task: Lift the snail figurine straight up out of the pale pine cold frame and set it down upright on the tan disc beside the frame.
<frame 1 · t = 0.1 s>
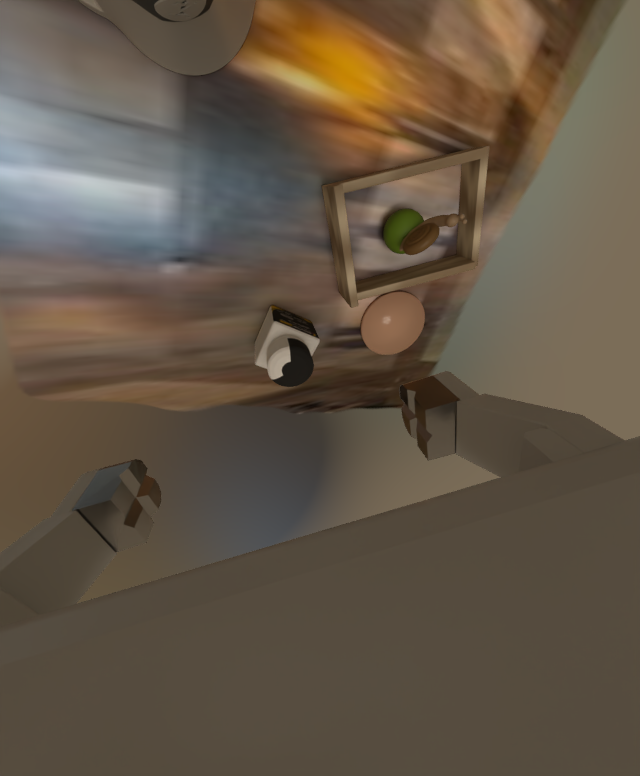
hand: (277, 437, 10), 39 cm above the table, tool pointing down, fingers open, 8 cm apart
medicine bottle: (283, 332, 49), on the table
cold frame: (399, 226, 43), on the table
tan disc: (391, 323, 52), on the table
snail figurine: (398, 226, 44), resting in cold frame
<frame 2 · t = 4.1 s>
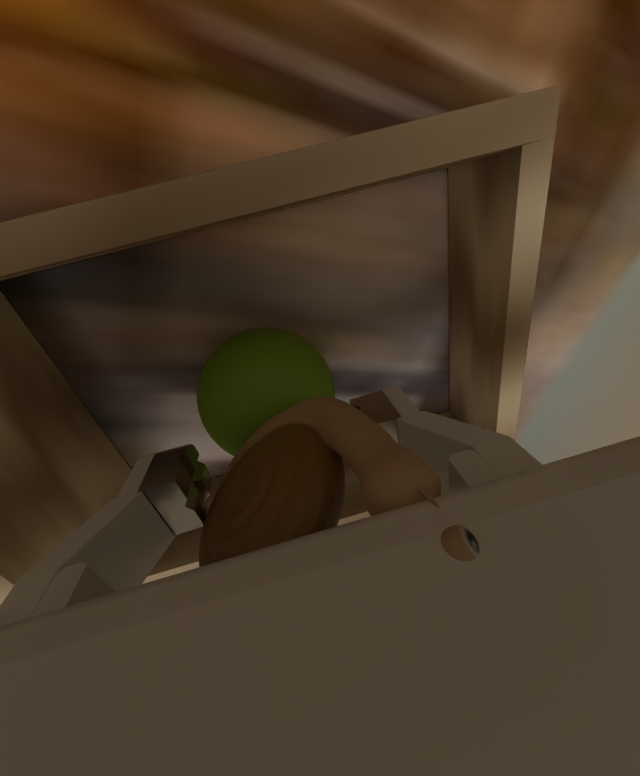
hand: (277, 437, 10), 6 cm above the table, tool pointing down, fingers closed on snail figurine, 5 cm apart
cold frame: (272, 360, 15), on the table
snail figurine: (272, 359, 15), resting in cold frame, touching gripper
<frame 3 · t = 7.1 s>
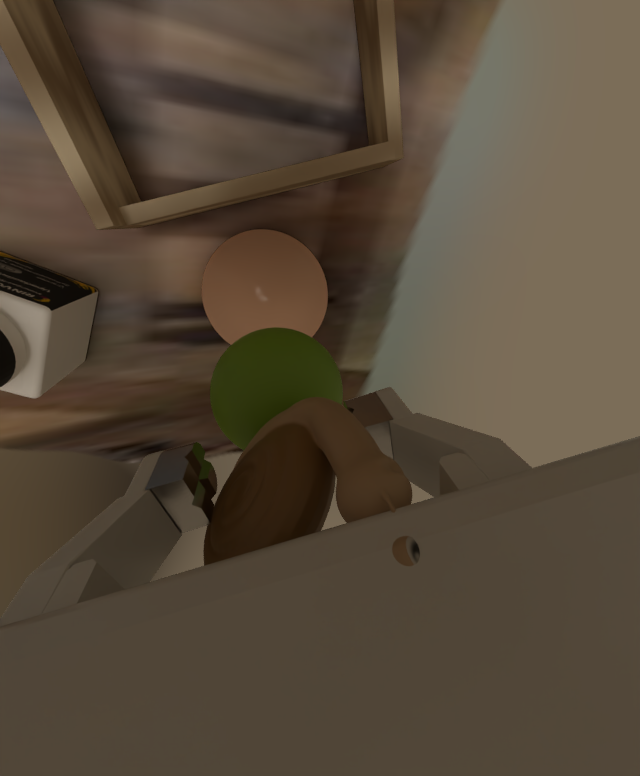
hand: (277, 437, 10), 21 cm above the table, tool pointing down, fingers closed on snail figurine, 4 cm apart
medicine bottle: (46, 309, 26), on the table
cold frame: (231, 78, 21), on the table
tan disc: (266, 296, 28), on the table
snail figurine: (285, 356, 15), point 15 cm above the table, touching gripper
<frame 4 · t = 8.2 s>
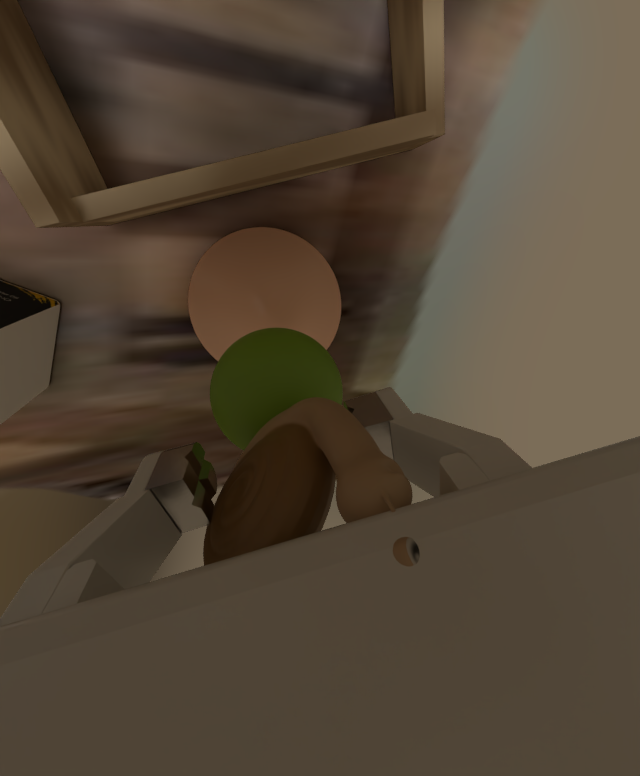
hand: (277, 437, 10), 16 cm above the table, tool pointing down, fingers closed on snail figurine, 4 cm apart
cold frame: (222, 30, 16), on the table
tan disc: (267, 309, 23), on the table
snail figurine: (285, 356, 15), point 9 cm above the table, touching gripper
when the fingers open (8 cm above the table, at t = 10.1 s): snail figurine stays where it is, resting on tan disc.
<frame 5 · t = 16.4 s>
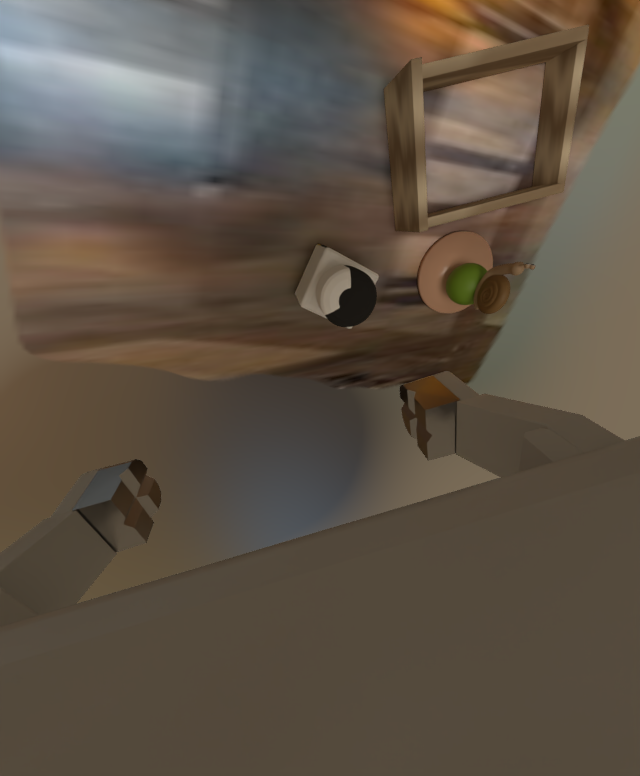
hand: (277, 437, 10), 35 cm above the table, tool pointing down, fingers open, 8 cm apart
medicine bottle: (328, 280, 42), on the table
cold frame: (468, 146, 37), on the table
tan disc: (453, 273, 44), on the table
snail figurine: (456, 277, 44), point 1 cm above the table, touching tan disc
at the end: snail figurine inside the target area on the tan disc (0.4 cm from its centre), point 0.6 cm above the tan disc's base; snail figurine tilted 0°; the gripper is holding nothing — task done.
